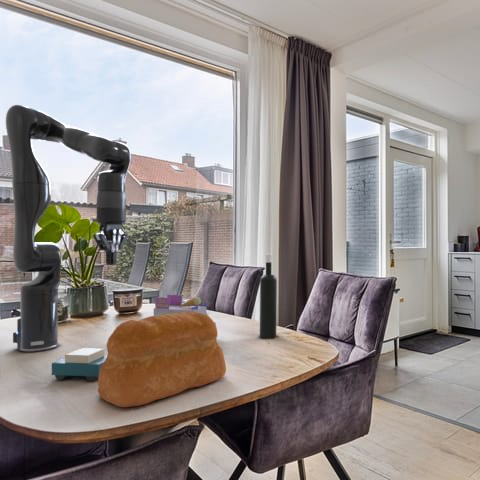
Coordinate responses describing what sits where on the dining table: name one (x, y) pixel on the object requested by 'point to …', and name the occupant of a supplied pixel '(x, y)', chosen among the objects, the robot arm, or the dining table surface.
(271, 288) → the wine bottle
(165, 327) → the bread
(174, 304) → the toy vehicle
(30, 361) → the dining table surface
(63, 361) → the teal block
